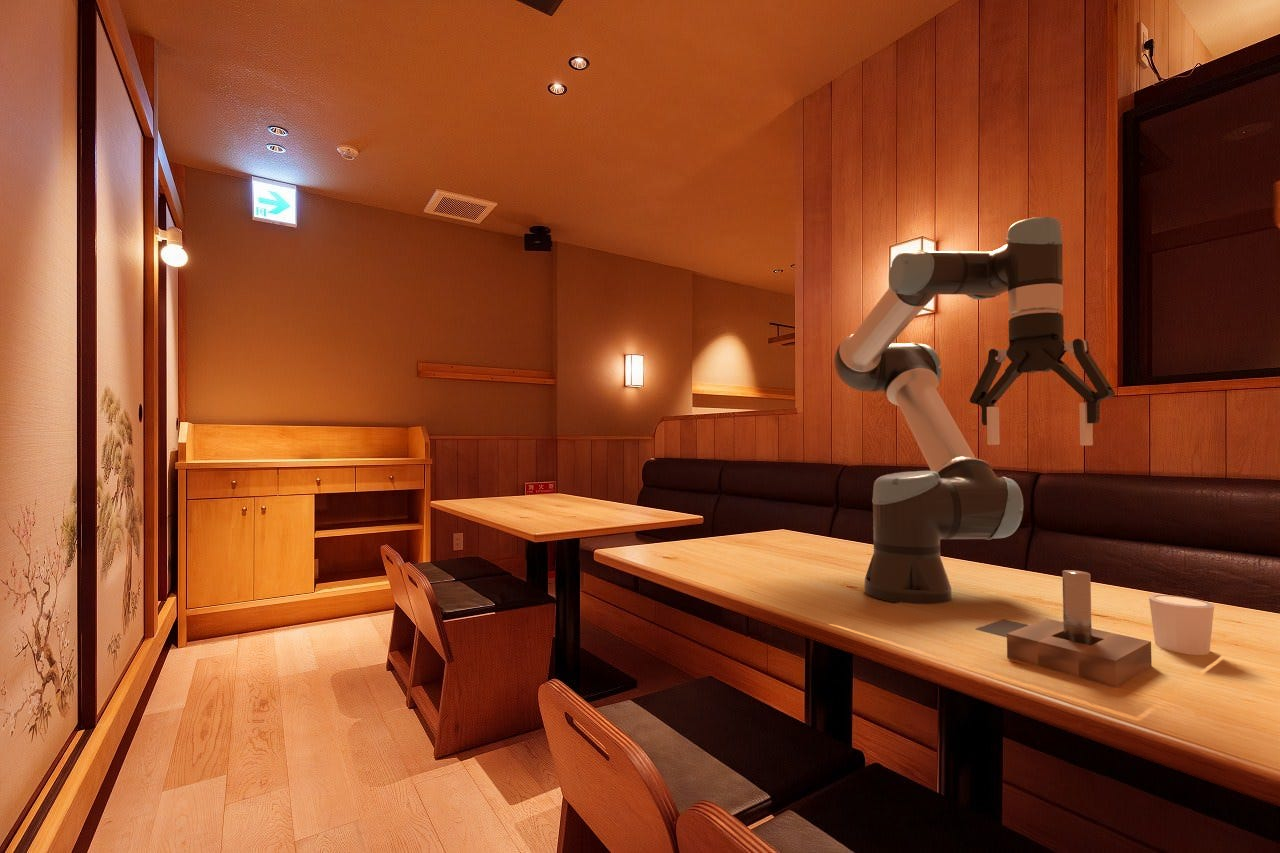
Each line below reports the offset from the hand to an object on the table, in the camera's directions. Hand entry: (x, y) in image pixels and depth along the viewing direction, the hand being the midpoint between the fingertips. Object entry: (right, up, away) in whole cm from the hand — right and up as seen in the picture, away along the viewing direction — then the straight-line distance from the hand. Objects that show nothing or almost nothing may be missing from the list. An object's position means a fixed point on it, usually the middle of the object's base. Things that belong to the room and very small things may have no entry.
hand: (1037, 445), depth 97 cm
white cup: (+11, -29, -14) cm, 34 cm away
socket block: (-7, -28, -19) cm, 35 cm away
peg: (-7, -28, -19) cm, 35 cm away
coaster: (-7, -29, -7) cm, 30 cm away
